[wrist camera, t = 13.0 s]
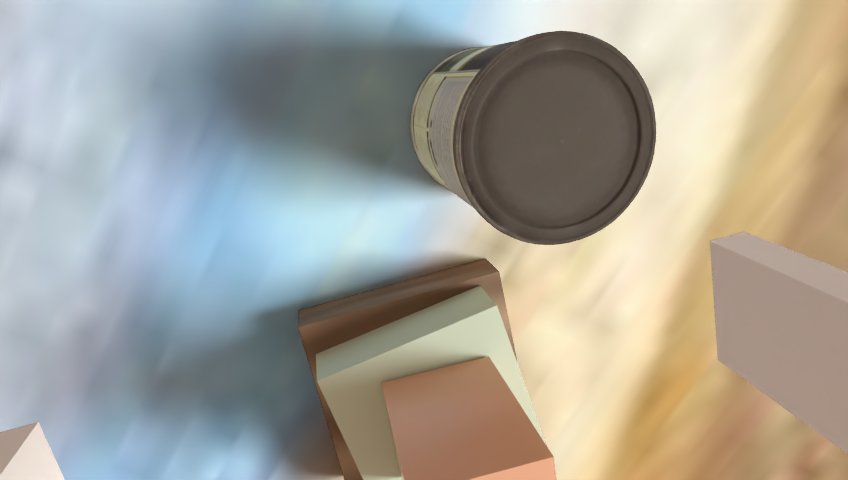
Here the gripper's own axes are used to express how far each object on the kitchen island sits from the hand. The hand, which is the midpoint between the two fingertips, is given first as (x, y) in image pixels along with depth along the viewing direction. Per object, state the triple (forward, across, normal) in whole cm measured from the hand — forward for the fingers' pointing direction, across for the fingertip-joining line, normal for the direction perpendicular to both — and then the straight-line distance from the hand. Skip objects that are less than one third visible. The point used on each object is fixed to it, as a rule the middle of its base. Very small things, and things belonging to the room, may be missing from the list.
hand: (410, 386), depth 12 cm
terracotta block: (+24, +3, -17) cm, 30 cm away
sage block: (+28, +2, -17) cm, 33 cm away
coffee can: (+32, +10, 0) cm, 34 cm away
